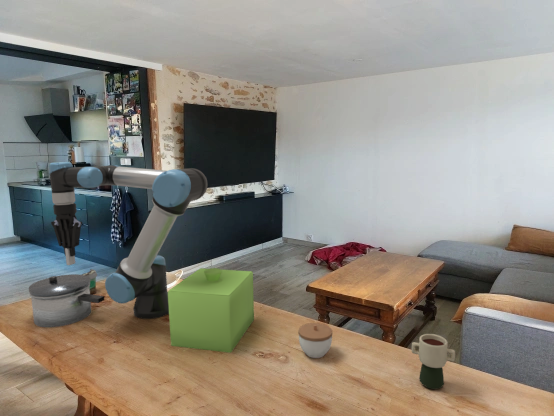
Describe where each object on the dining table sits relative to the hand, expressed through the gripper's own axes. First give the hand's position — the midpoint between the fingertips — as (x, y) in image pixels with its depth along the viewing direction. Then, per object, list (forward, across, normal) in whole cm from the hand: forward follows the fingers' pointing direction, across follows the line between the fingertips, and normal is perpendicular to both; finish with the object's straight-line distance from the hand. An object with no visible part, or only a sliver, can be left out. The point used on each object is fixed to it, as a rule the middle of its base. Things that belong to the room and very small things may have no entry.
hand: (71, 264), depth 148 cm
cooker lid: (+10, +6, 0) cm, 12 cm away
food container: (+22, +15, -22) cm, 34 cm away
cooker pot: (+22, +3, 0) cm, 22 cm away
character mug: (+24, -129, +6) cm, 132 cm away
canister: (+23, -58, -5) cm, 62 cm away
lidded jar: (+23, -95, -1) cm, 98 cm away
